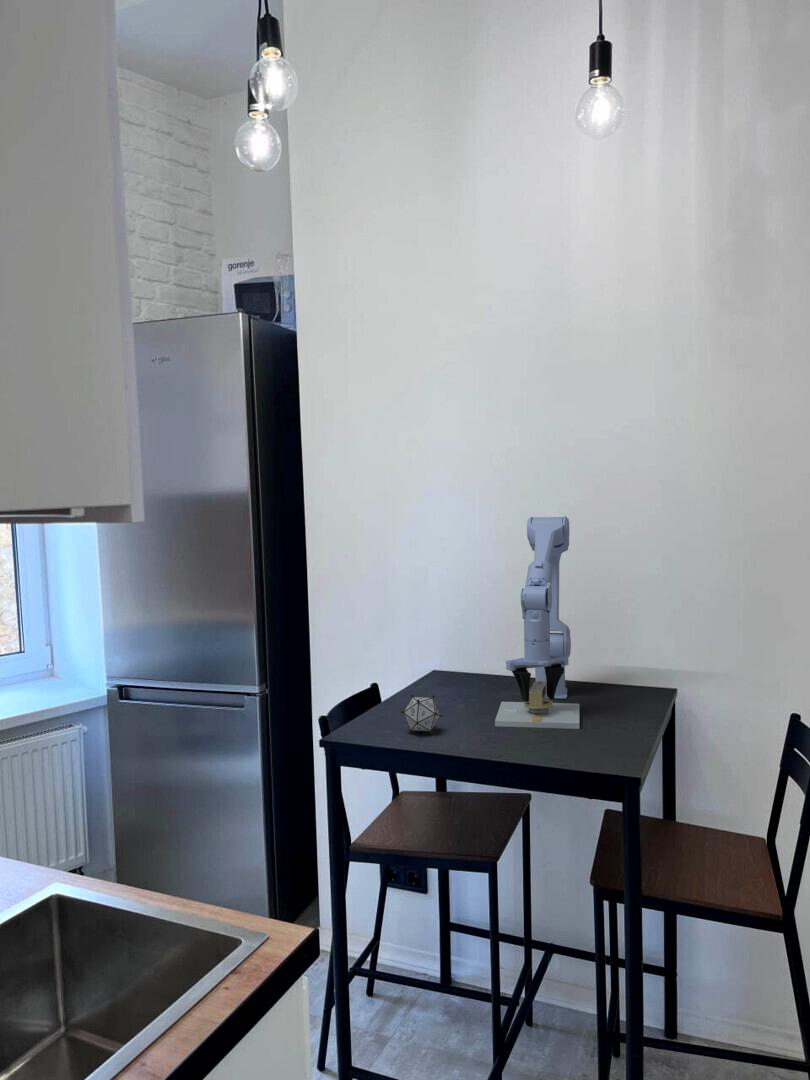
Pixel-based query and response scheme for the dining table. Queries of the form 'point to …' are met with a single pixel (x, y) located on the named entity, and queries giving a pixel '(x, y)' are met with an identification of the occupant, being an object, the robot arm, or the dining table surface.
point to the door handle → (538, 697)
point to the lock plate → (538, 716)
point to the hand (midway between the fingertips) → (538, 699)
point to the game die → (421, 714)
